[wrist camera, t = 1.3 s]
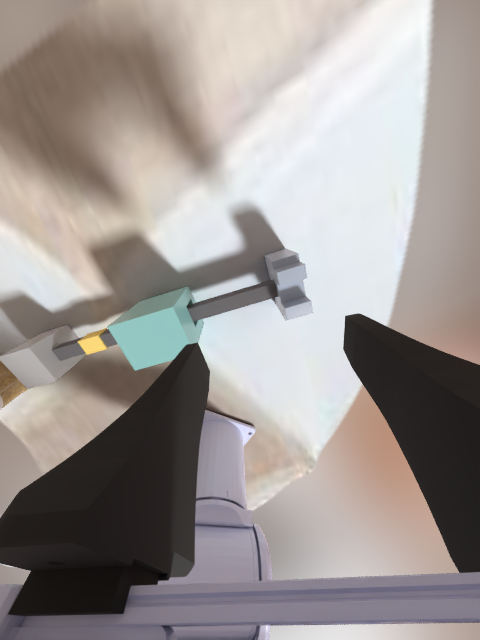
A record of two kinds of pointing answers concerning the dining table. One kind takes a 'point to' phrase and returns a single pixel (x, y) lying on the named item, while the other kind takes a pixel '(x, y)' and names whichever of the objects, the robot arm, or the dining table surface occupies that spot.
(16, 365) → the grey cube
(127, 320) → the sleeve
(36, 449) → the dining table surface
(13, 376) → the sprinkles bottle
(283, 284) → the grey notched jaw block
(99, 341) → the shaft
